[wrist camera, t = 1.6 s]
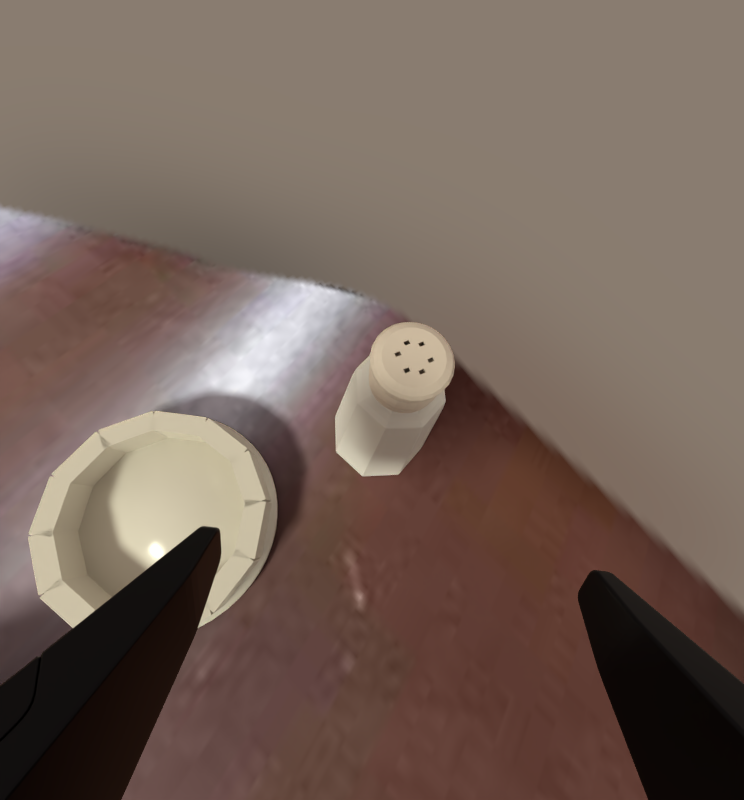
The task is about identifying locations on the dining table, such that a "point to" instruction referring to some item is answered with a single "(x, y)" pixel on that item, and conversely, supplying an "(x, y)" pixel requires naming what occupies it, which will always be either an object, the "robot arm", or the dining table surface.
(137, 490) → the ring dish
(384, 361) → the pepper shaker
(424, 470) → the dining table surface
